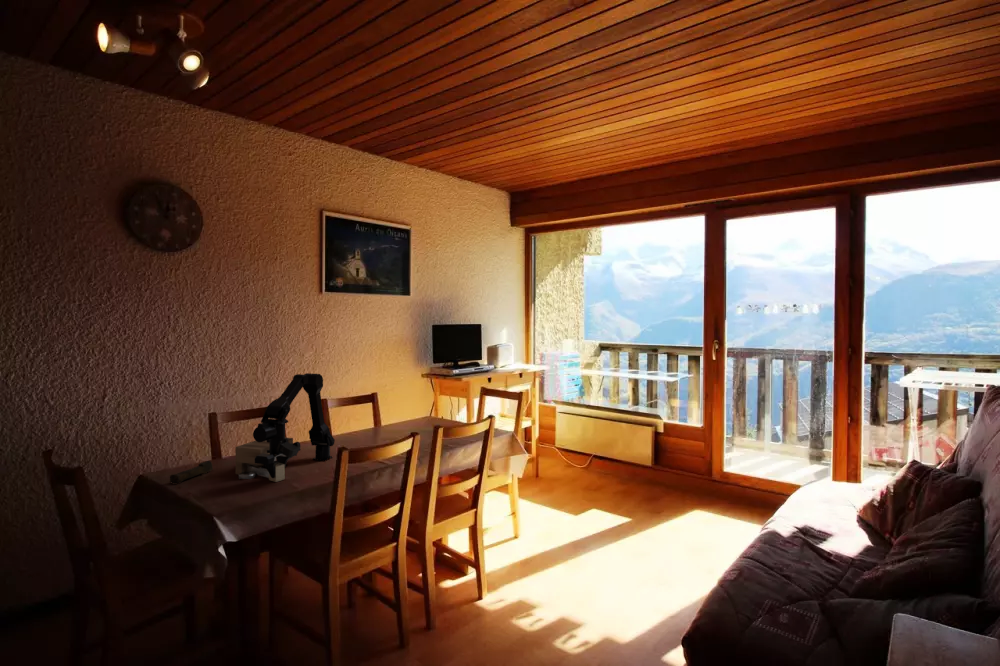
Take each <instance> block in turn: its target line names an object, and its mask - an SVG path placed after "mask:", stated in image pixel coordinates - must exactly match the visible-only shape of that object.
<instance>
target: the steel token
mask: <svg viewBox="0 0 1000 666" xmlns="http://www.w3.org/2000/svg"><path fill="white" fill-rule="evenodd" d="M254 477H255V478H256V474H255V472H243V473H240V474H238V480H240V479H249V480H253V479H254ZM252 478H253V479H252Z"/></svg>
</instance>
